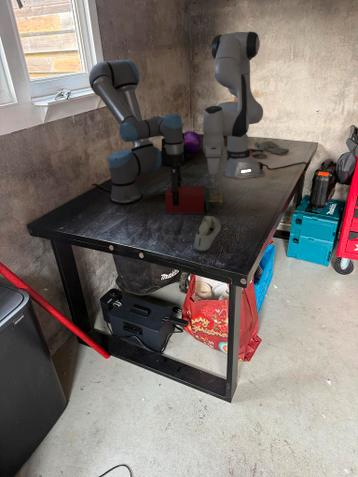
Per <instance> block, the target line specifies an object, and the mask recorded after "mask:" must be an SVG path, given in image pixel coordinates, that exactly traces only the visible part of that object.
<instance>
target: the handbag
mask: <svg viewBox="0 0 358 477" xmlns="http://www.w3.org/2000/svg"><path fill="white" fill-rule="evenodd" d="M184 133H185V132H183V152H182V153H183V155H184V161H186V160H187V159H188V153H187V152H186V145H185V138H184ZM164 145H165V137H162V138H161V150H160V152H161V157H162V162H161V166H165V167H171V165H172V164H169V163H167V161H166V154H167V153H166V148H165V147H164Z"/></svg>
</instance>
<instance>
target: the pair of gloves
mask: <svg viewBox="0 0 358 477" xmlns="http://www.w3.org/2000/svg"><path fill="white" fill-rule="evenodd" d="M254 147H255V148H252V147H247V149H249V150H251V151H252V152H253V154H252V155H250V156H252V157H253V158H254V159H255V158H257V157H263V158H268V155H267V154H266V153H264V152H265V151H266V152H269V153H273V154H275V155H278V156H283V155H286V154H288V153H289V152H290V149H289V148H282V147H280V145H278V144H277V143H275V142H273V141H271V140H268V141H263V142H261V143H259V142H258V141H256V142H255V143H254Z"/></svg>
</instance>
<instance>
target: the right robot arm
mask: <svg viewBox="0 0 358 477" xmlns="http://www.w3.org/2000/svg"><path fill="white" fill-rule="evenodd" d="M260 45H261V41H260V37H259V34H258V33H257V32H255V31H235V32H230V33H225V34H218V35H216V36H214V38H213V39H212V41H211V45H210V52H211V57H212V58H213V59H214V66H213V77H214V79H215V80H216V82H217V83H218V84H219V85H221V86H222V87H224V88H227V90H228V92H229V93H230V94H231V95H232V96H234V97H235V98H236V101H225V102H221V103H218V105H212V106H208V107H206V108H205V109H204V112H203V117H202V118H203V119H202V133H203V139H202V152H203V154H204V155H205V158H206V162H207V171H208V175H209V176H210V182H211V183H212V184H215V183H216V178H217V176H218V174H219V169H220V160H221V157H222V154H223V153H224V152H225V145H224V137H223V136H227V144H226V145H227V149H226V152H225V153H226V154H225V159H226V165H225V169H224V172H223V174H224V176H225V177H228V178H232V179H233V178H234V179H237V180H243V179H250V178H258V177H259V178H260V177H263V176H264V175H265V172H264V167H266V169H267V170H270V171H272V170H273V171H274V170H279V169H285V168H289V167H293V166H296V165H302V164H305V165H309V163H307V162H306V161H301V162H295V163H291V164H288V165H283V166H278V167H274V168H273V167H272V168H270V167H269V166H268V164H264V163H263V162H261V161H258V160H257V159H256V158H255V157H254V158H253V157H252V156H250V155H252V154H253V152H252V151H251V150H249V149H247V148H249V147H248V146H249V144H248V143H249V136H248V134H247V133H248V132H249V129H250V125H254V124H259V123H260V122H261V121H262V119H263V116H264V108H263V106H262V105H261V103H260V102H258V100H256V98H255V97H254V95H253V92H252V88H251V61H252V59H254V58H256V56H257V55H258V52H259V50H260Z"/></svg>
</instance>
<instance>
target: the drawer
mask: <svg viewBox="0 0 358 477" xmlns="http://www.w3.org/2000/svg"><path fill="white" fill-rule="evenodd" d="M205 188H206V192H205V209H206V212H209V211H210V202H218V203H220V204H222V203H223V193H222V191H219V192H217V193H215V192H214V193H213V192H211V193H210V187H205ZM210 196H217V199H210Z"/></svg>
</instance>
